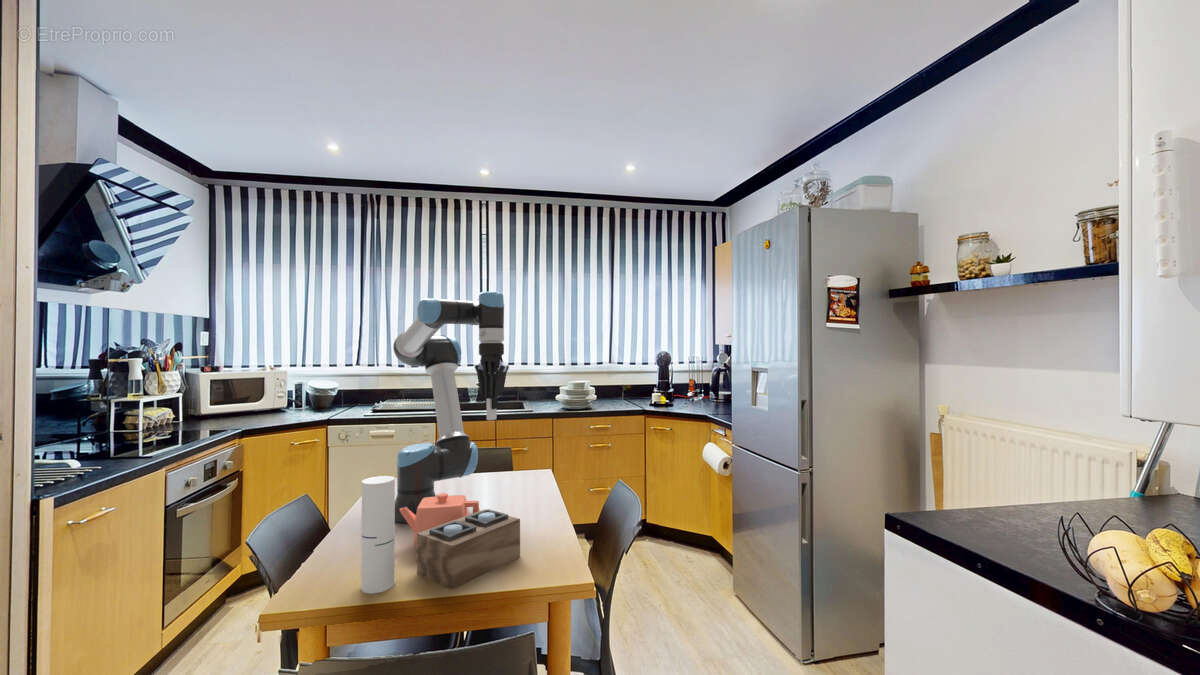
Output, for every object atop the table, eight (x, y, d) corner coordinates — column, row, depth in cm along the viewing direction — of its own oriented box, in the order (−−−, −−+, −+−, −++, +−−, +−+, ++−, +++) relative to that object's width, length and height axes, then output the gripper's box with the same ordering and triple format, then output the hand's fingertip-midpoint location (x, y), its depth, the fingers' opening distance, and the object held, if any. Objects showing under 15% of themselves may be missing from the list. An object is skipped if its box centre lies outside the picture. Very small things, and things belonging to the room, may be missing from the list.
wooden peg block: (416, 573, 121) (416, 529, 121) (485, 544, 139) (485, 505, 139) (452, 589, 113) (452, 541, 113) (520, 556, 131) (520, 515, 131)
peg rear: (474, 549, 130) (474, 515, 130) (487, 544, 134) (487, 511, 134) (486, 553, 128) (486, 519, 128) (498, 547, 131) (498, 514, 131)
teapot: (394, 556, 132) (394, 503, 132) (404, 538, 144) (404, 490, 144) (478, 549, 136) (478, 498, 136) (480, 532, 148) (480, 486, 148)
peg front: (440, 564, 121) (440, 528, 121) (454, 558, 125) (454, 523, 125) (451, 569, 119) (451, 532, 119) (465, 562, 122) (465, 526, 122)
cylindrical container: (368, 579, 118) (368, 476, 119) (398, 578, 119) (398, 475, 119) (356, 594, 111) (356, 484, 112) (388, 592, 112) (388, 483, 112)
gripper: (467, 342, 150) (467, 419, 149) (496, 342, 142) (497, 422, 142) (486, 342, 156) (486, 416, 155) (515, 342, 148) (515, 419, 148)
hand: (491, 419), depth 148 cm, fingers closed
